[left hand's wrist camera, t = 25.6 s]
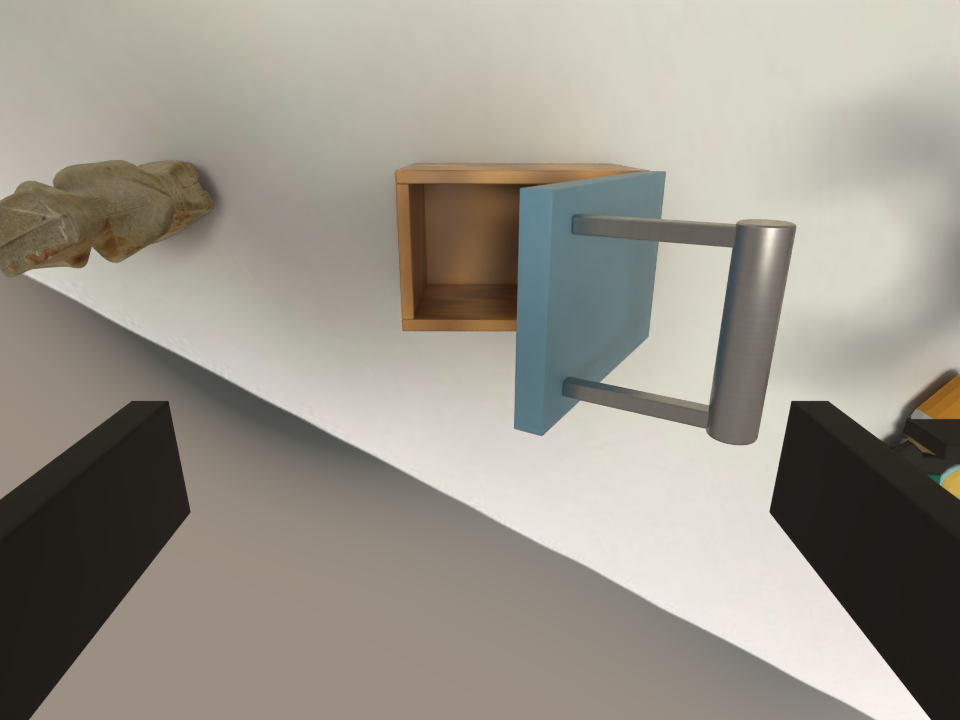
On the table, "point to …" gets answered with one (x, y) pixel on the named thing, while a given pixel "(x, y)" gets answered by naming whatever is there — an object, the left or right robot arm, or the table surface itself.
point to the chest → (468, 240)
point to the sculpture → (97, 213)
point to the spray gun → (951, 474)
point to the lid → (635, 303)
